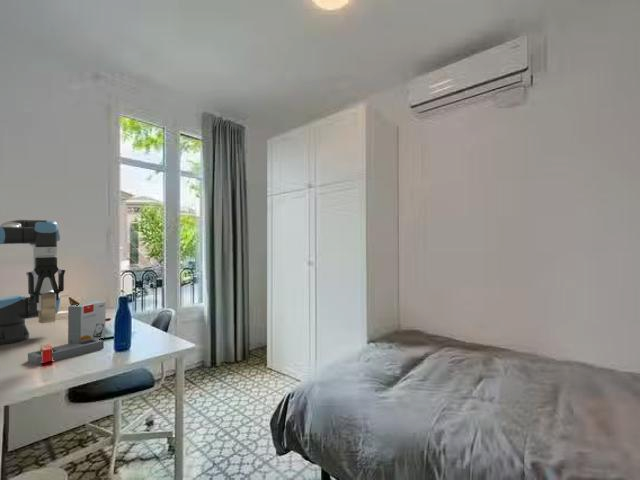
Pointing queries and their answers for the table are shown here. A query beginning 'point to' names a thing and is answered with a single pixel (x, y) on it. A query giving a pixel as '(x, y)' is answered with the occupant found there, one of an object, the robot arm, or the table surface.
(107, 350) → the table surface
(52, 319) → the plug
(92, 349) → the socket strip
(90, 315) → the hard drive box
